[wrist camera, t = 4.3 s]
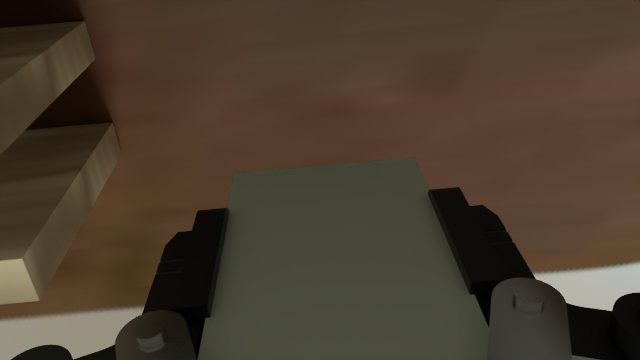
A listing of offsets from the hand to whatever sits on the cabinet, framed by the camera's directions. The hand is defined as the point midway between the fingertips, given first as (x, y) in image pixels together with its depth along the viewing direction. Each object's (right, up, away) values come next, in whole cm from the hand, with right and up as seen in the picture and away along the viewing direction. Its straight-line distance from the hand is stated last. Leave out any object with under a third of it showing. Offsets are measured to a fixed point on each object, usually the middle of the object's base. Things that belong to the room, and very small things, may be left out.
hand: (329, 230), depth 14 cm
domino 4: (-12, +3, +11) cm, 17 cm away
